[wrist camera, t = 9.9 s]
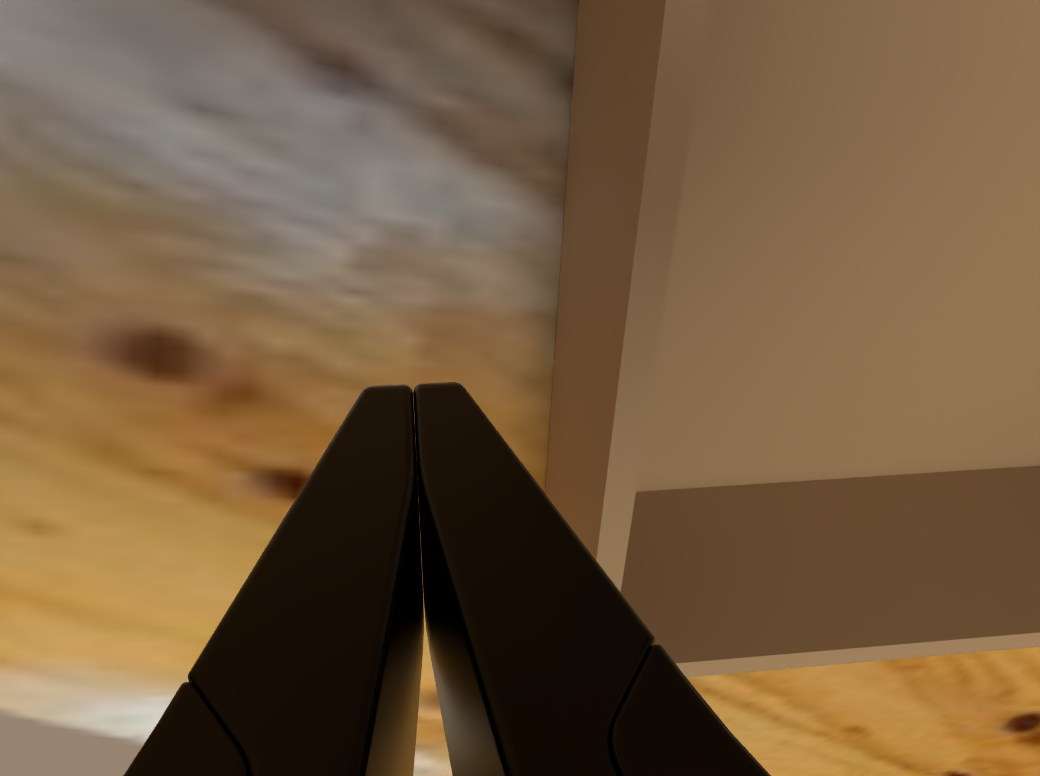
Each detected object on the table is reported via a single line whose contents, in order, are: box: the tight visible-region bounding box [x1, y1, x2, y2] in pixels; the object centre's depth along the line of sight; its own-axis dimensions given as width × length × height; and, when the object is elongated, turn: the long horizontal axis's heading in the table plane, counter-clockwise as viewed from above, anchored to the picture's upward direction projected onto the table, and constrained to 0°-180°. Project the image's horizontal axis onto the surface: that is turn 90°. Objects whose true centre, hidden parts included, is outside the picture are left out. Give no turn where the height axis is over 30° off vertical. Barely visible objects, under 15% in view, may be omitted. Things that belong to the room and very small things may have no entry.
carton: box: [545, 0, 1040, 677], centre depth 18 cm, size 16×24×6 cm, turn 178°
